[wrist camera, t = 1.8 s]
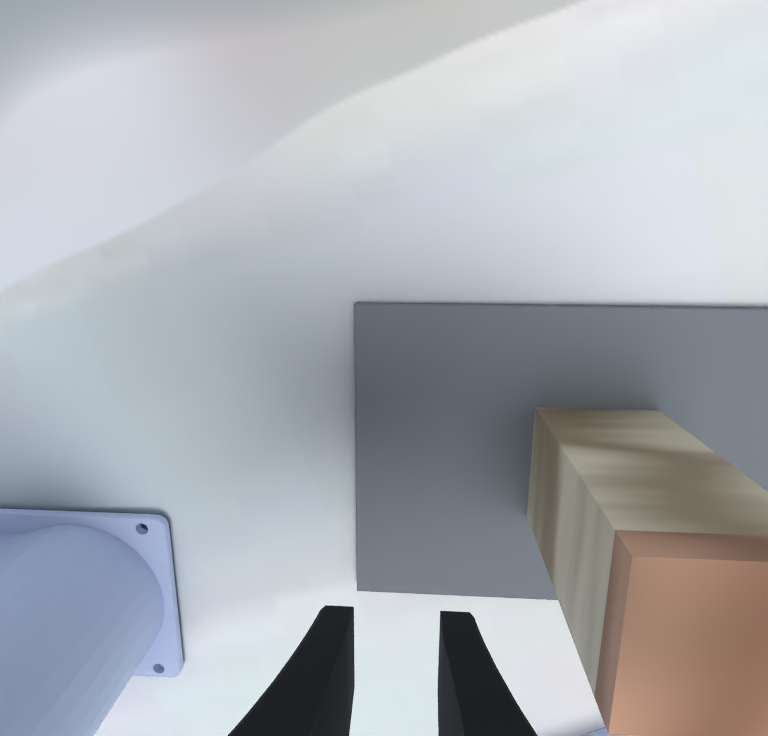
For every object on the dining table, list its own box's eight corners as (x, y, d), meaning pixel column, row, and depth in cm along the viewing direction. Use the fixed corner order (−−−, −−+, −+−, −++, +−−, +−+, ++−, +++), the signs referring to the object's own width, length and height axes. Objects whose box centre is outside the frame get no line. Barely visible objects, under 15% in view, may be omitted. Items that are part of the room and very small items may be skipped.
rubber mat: (358, 581, 23) (357, 590, 23) (356, 302, 20) (354, 304, 20) (900, 605, 22) (913, 616, 21) (982, 310, 19) (1000, 313, 18)
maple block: (526, 516, 21) (608, 734, 12) (535, 407, 20) (632, 556, 11) (644, 520, 21) (819, 746, 12) (659, 410, 20) (865, 565, 11)
